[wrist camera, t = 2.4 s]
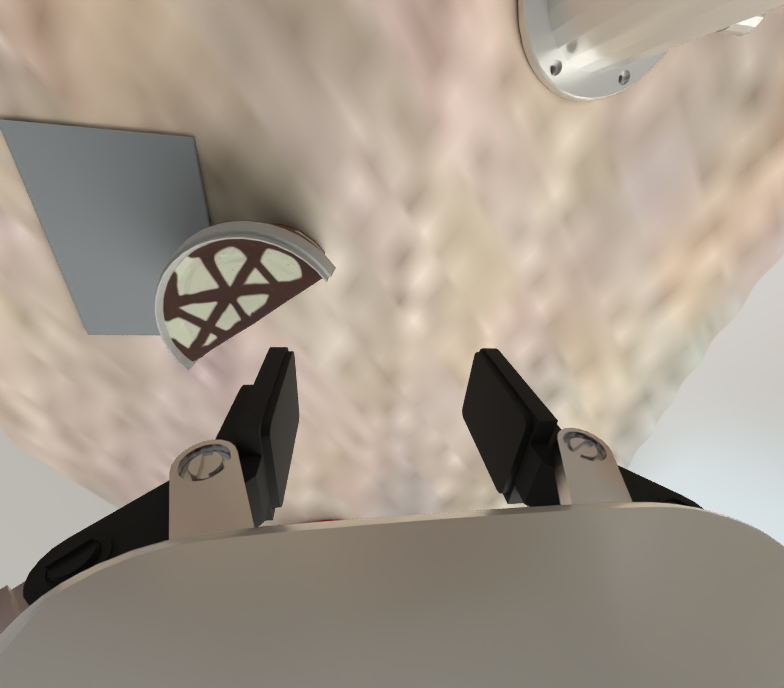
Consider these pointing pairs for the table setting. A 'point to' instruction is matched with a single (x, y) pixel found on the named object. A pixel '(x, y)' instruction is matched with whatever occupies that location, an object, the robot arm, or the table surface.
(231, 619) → the robot arm
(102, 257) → the mat
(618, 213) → the table surface
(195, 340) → the food container
